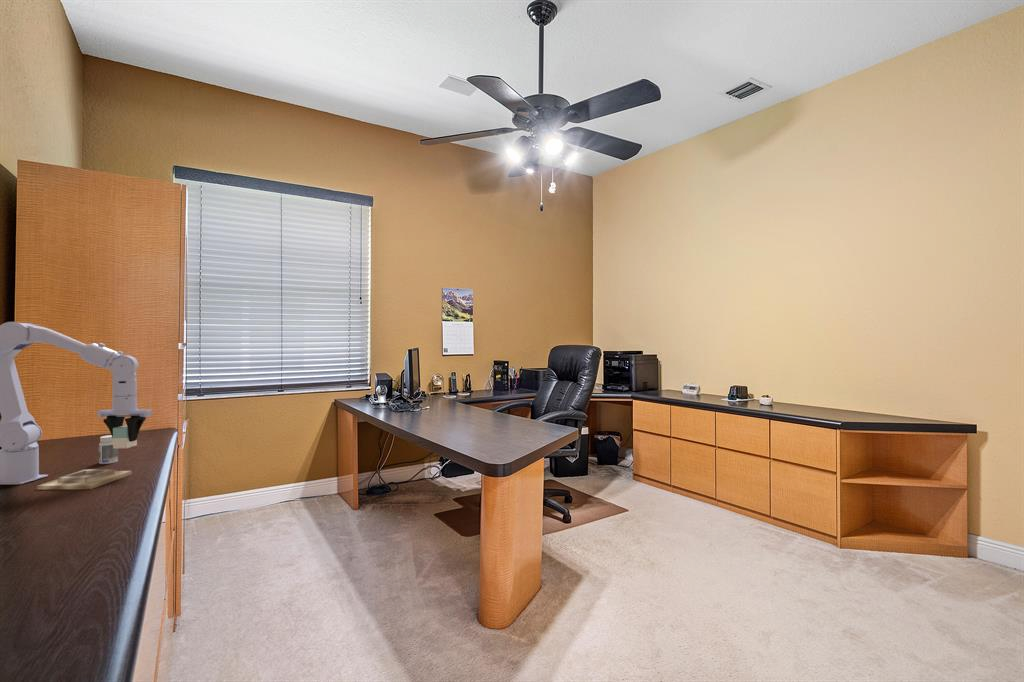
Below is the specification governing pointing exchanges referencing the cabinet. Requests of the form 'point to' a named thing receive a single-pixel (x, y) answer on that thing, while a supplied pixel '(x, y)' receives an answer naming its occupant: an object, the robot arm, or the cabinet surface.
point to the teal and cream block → (122, 438)
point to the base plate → (85, 479)
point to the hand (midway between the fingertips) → (125, 440)
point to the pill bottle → (107, 450)
